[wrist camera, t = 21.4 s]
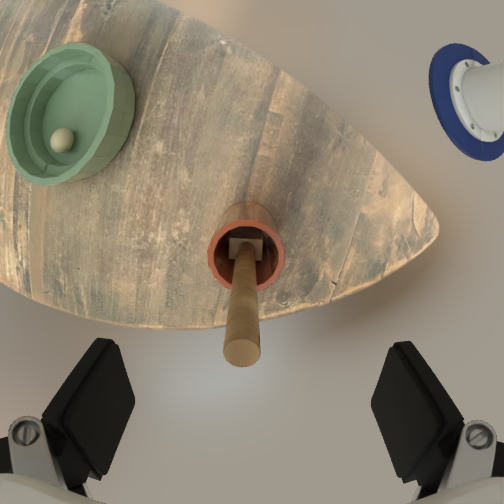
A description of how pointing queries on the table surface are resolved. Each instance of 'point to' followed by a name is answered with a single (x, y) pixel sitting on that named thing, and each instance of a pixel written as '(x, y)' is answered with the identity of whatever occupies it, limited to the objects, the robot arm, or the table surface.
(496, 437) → the robot arm
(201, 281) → the table surface
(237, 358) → the wooden masher
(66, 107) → the bowl
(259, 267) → the utensil cup
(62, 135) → the bead
